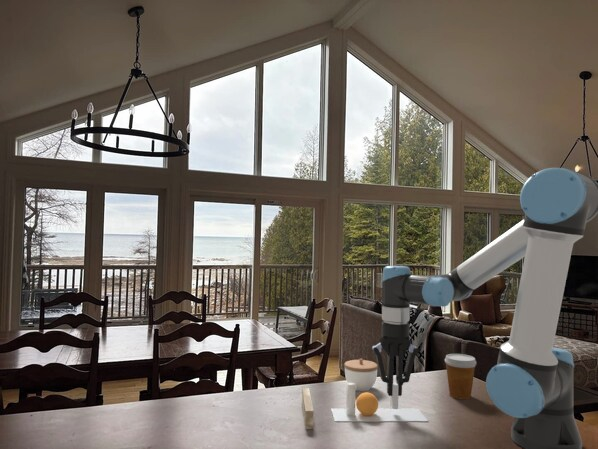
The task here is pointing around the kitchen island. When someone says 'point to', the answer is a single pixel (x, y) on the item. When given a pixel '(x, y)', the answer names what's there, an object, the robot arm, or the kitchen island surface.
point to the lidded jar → (361, 373)
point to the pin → (350, 399)
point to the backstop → (307, 408)
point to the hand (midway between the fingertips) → (394, 407)
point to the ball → (367, 404)
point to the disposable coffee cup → (460, 375)
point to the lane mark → (380, 415)
